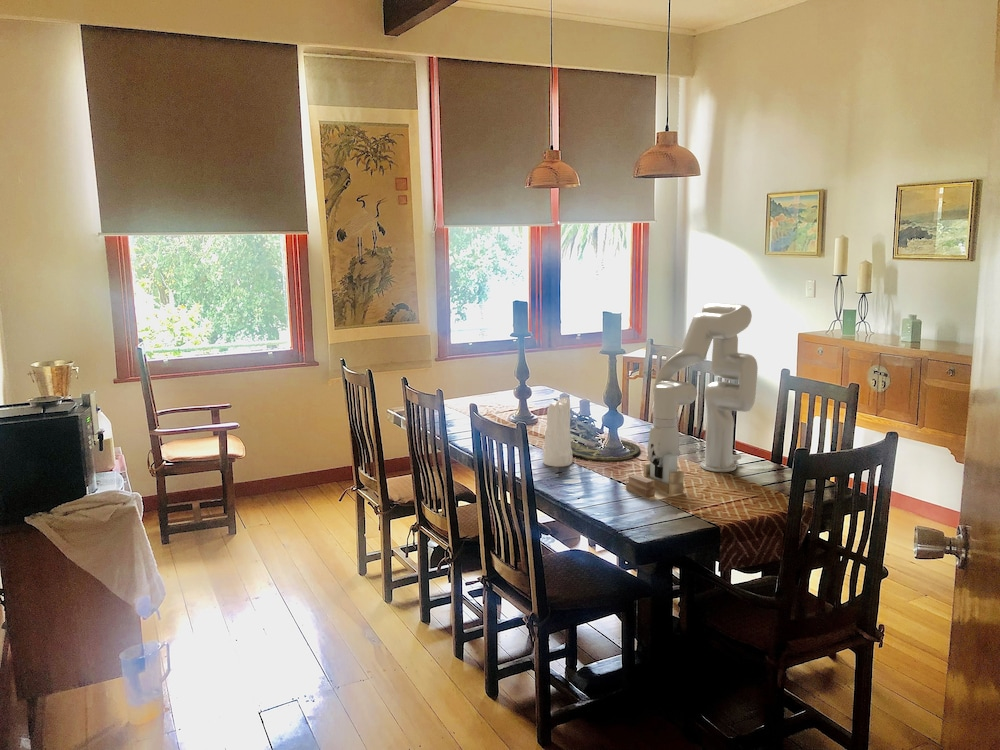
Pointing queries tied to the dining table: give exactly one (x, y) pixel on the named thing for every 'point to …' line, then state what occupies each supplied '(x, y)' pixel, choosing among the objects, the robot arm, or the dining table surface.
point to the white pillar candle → (558, 435)
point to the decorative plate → (594, 455)
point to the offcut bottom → (640, 491)
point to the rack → (665, 484)
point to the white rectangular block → (665, 467)
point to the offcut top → (641, 482)
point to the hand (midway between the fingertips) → (663, 476)
